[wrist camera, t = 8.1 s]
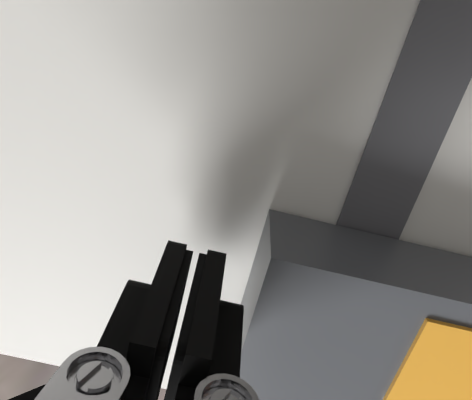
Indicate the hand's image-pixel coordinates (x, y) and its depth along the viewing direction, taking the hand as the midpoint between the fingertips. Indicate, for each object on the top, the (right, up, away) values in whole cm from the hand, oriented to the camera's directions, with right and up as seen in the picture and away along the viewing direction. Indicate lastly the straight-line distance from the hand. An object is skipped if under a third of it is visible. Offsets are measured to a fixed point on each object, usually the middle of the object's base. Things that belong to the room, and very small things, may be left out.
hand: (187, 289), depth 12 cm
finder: (+6, -1, +2) cm, 6 cm away
